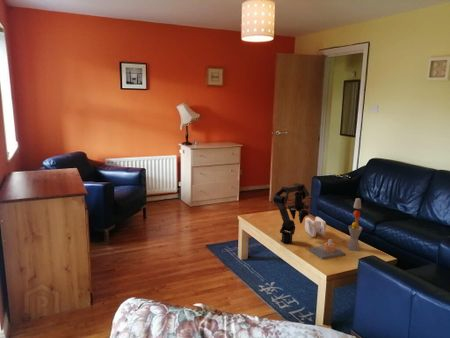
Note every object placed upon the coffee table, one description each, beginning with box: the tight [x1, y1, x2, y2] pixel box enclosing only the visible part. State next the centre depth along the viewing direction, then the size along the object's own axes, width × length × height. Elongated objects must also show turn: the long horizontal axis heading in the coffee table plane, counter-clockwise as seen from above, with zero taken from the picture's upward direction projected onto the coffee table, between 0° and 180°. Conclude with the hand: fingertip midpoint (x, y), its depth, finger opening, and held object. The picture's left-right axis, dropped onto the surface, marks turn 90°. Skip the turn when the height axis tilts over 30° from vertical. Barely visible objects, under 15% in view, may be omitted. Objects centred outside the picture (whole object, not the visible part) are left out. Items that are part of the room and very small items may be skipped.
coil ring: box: [323, 241, 337, 252], centre depth 232 cm, size 7×7×4 cm
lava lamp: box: [346, 197, 363, 252], centre depth 236 cm, size 9×9×35 cm
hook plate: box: [308, 238, 346, 260], centre depth 231 cm, size 18×14×9 cm
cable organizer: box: [304, 216, 327, 238], centre depth 262 cm, size 15×11×12 cm
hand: (297, 221), depth 255 cm, fingers open, 9 cm apart
